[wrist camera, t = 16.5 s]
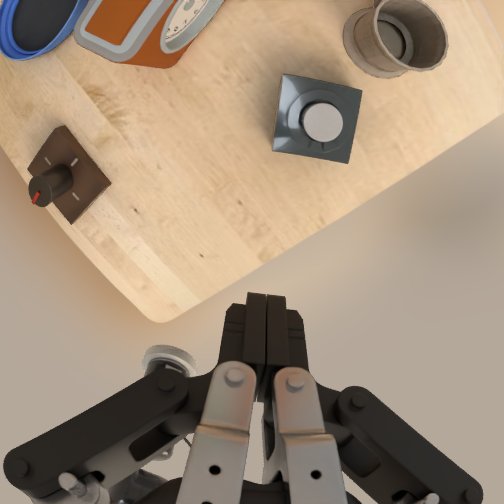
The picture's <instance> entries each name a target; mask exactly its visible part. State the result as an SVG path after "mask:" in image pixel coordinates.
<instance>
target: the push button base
mask: <svg viewBox="0 0 504 504" xmlns="http://www.w3.org/2000/svg"><path fill="white" fill-rule="evenodd" d="M361 96H362V90H359V89H355V88H351V87H347V86H343V85H339V84H334V83H330V82H325V81H320V80H315V79H310V78H305V77H299V76H293V75H287V74H283V75H282V76H281V80H280V87H279V94H278V101H277V108H276V115H275V122H274V129H273V136H272V143H271V147H272V151H276V152H283V153H289V154H296V155H302V156H308V157H313V158H319V159H324V160H330V161H335V162H340V163H345V164H348V163H349V158H350V153H351V149H352V144H353V139H354V134H355V129H356V124H357V118H358V113H359V108H360V102H361ZM313 103H326V104H329V105H332V106H334V107H335V108H336V109H337V110H338V111H339V112H340V114H341V116H342V119H343V127H342V130H341V132H340V134H339V135H338V136H337V137H336V138H335V139H333V140H331V141H327V142H320V141H317V140H314V139H313V138H311V137H310V136H309V135H308V134H307V133H306V132H305V130H304V128H303V126H302V121H301V119H302V114H303V112H304V110H305V109H306V108H307V107H308V106H309V105H311V104H313Z"/></svg>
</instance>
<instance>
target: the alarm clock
mask: <svg viewBox="0 0 504 504" xmlns="http://www.w3.org/2000/svg"><path fill="white" fill-rule="evenodd" d="M224 1H225V0H90V1H89V3H88V4H87V6H86V7H85V9H84V10H83V12H82V14H81V15H80V17H79V19H78V20H77V22H76V24H75V27H74V38H75V41H76V42H77V44H79V45H80V46H82V47H84V48H86V49H88V50H90V51H92V52H94V53H96V54H98V55H100V56H102V57H103V58H105V59H107V60H109V61H111V62H114V63H122V64H132V65H140V66H148V67H155V68H163V69H164V68H169V67H171V66H173V65H175V64H176V63H177V62H178V60H179V59H180V58H181V56H182V55H183V53H184V52H185V51H186V49H187V48H188V47H189V45H190V44H191V42H192V41H193V40H194V38H195V37H196V36H197V35H198V34H199V32H200V31H201V30H202V29H203V28H204V27H205V26H206V25H207V23H208V22H209V21H210V20H211V18H212V17H213V16H214V15H215V13H216V12H217V10H218V9H219V7H220V6H221V5H222V4H223V2H224Z"/></svg>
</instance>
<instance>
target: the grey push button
mask: <svg viewBox="0 0 504 504" xmlns="http://www.w3.org/2000/svg"><path fill="white" fill-rule="evenodd" d="M301 121H302V126H303V128H304V130H305V132H306V133H307V134H308V135H309V136H310V137H311V138H313V139H314V140H317V141H320V142H327V141H331V140H333V139H335V138H336V137H337V136H338V135H339V134H340V132H341V130H342V127H343V119H342V116H341V114H340V112H339V111H338V110H337V109H336V108H335V107H334V106H332V105H329V104H326V103H313V104H311V105H309V106H308V107H307V108H306V109H305V110H304V112H303V114H302V119H301Z"/></svg>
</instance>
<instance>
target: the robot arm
mask: <svg viewBox="0 0 504 504" xmlns="http://www.w3.org/2000/svg"><path fill="white" fill-rule="evenodd" d="M256 397H257V402H263V403H264V413H263V416H262V420H261V423H262V440H263V456H264V468H263V476H262V484H257V483H253V482H250V481H246V480H243V476H244V470H245V464H246V458H247V451H248V444H249V436H250V434H249V429H250V422H251V415H252V409H253V402H255V401H256ZM190 433H194V437H193V441H192V444H190V442H189V441H188V440H187V439H186V438H185V437H186V436H187V435H188V434H190ZM182 439H184V440H185V442H187V444H188V445H189V446H190V452H189V456H188V459H187V463H186V467H185V471H184V474H183V477H180V478H176V479H172V480H169V481H168V480H166V479H165V478H163V477H160V476H158V475H155V474H153V473H150V472H147V471H145V470H143V469H140V468H141V467H143V466H144V465H146V464H147V463H149V462H150V461H152V460H156V461H162V460H167V459H169V458H170V457H171V456H172V453H173V448H174V445H175V444H176V443H178V442H179V441H180V440H182ZM3 468H4V473H5V476H6V478H7V479H8V481H9V482H10V483H11V484H12V485H13V486H15V487H16V488H18V489H19V490H21V491H23V492H24V493H25V494H26V495H28V496H29V497H30V498H31V500H32V502H33V503H34V504H362V503H361V502H360V501H359V500H358V499H357V498H355V497H354V496H353V495H352V494H350V493H349V492H347V491H345V486H344V481H343V475H342V471H343V472H344V473H345V474H346V475H347V476H349V478H350V479H352V480H353V481H354V482H355V483H356V484H357V485H358V486H359V487H360V488H361V489H363V490H364V491H365V492H366V493H367V494H368V495H369V496H370V497H371V498H373V499H374V500H375V501H376V502H377V503H378V504H481V503H482V500H483V490H482V487H481V485H480V484H479V483H478V482H477V481H476V480H475V479H474V478H472V477H471V476H470V475H469V474H467V473H466V472H465V471H464V470H463V469H461V468H460V467H459V466H457V465H456V464H455V463H454V462H453V461H451V460H450V459H449V458H448V457H447V456H445V455H444V454H443V453H442V452H440V451H439V450H438V449H437V448H436V447H434V446H433V445H432V444H431V443H430V442H429V441H427V440H426V439H425V438H424V437H423V436H421V435H420V434H419V433H418V432H417V431H415V430H414V429H413V428H412V427H411V426H409V425H408V424H407V423H406V422H405V421H404V420H402V419H401V418H400V417H399V416H398V415H396V414H395V413H394V412H393V411H392V410H391V409H390V408H388V407H387V406H386V405H385V404H384V403H382V402H381V401H380V400H379V399H378V398H377V397H376V396H375V395H373V394H372V393H371V392H370V391H368V390H367V389H365V388H363V387H359V386H350V387H347V388H345V389H344V390H343V391H341V392H339V391H336V390H332V389H329V388H326V387H324V386H322V385H320V384H318V383H317V382H316V381H315V379H314V377H313V376H312V375H311V374H310V372H309V368H308V358H307V349H306V341H305V334H304V324H303V319H302V318H301V316H300V315H299V313H298V312H297V310H289V309H286V298H285V296H277V295H269V294H267V296H266V295H265V294H259V293H251V292H248V293H247V300H246V305H243V304H235V303H233V304H232V305H231V306H230V307H229V308H228V310H227V311H226V316H225V322H224V328H223V335H222V340H221V346H220V353H219V359H218V363H217V365H216V366H215V368H214V369H213V370H212V371H210V372H209V373H207V374H205V375H201V376H195V377H190V373H189V371H188V369H187V368H186V367H185V366H184V365H183V364H181V363H180V362H178V361H176V360H173V359H170V358H165V357H157V358H153V359H151V360H150V361H149V362H148V365H147V369H146V372H145V375H144V377H143V378H141V379H140V380H138V381H136V382H135V383H133V384H131V385H130V386H128V387H126V388H125V389H123V390H121V391H119V392H118V393H116V394H114V395H113V396H111V397H109V398H107V399H106V400H104V401H102V402H100V403H99V404H97V405H95V406H93V407H92V408H90V409H88V410H86V411H84V412H83V413H81V414H79V415H77V416H75V417H74V418H72V419H70V420H68V421H66V422H64V423H63V424H61V425H59V426H57V427H55V428H53V429H51V430H50V431H48V432H46V433H44V434H42V435H40V436H38V437H36V438H34V439H32V440H30V441H28V442H26V443H25V444H22V445H20V446H19V447H16V448H14V449H12V450H11V451H10V452H8V454H7V455H6V457H5V459H4V463H3Z"/></svg>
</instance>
